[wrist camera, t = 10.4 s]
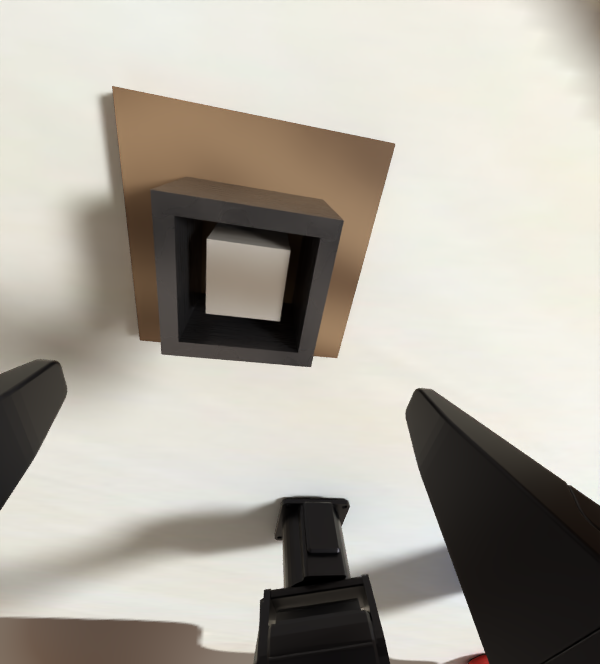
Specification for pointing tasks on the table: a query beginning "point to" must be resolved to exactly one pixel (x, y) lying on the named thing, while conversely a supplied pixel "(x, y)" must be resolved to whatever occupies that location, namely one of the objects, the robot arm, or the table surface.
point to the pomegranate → (479, 660)
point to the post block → (257, 172)
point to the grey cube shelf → (186, 271)
